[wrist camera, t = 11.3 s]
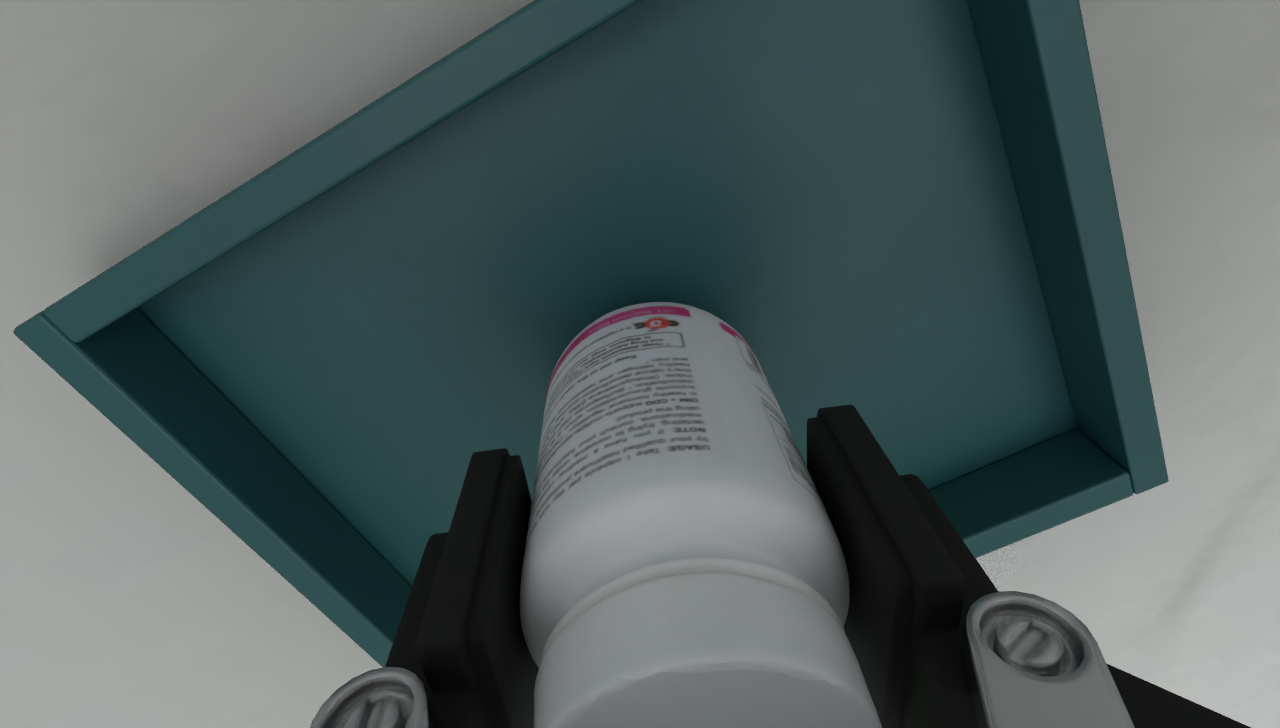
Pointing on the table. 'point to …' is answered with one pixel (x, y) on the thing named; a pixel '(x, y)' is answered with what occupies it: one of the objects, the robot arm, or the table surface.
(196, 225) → the tray
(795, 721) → the pill bottle
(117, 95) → the table surface
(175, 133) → the table surface
